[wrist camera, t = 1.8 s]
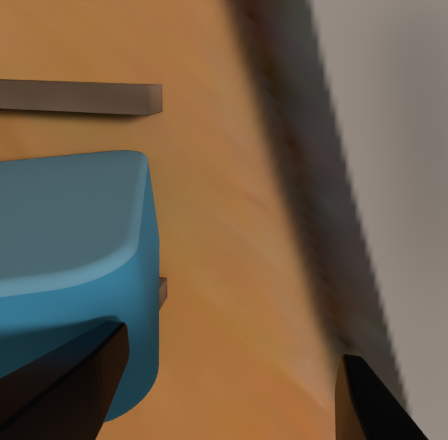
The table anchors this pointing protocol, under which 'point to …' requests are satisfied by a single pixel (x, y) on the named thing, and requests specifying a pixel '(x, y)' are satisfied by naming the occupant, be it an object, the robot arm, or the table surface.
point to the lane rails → (84, 104)
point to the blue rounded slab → (80, 260)
